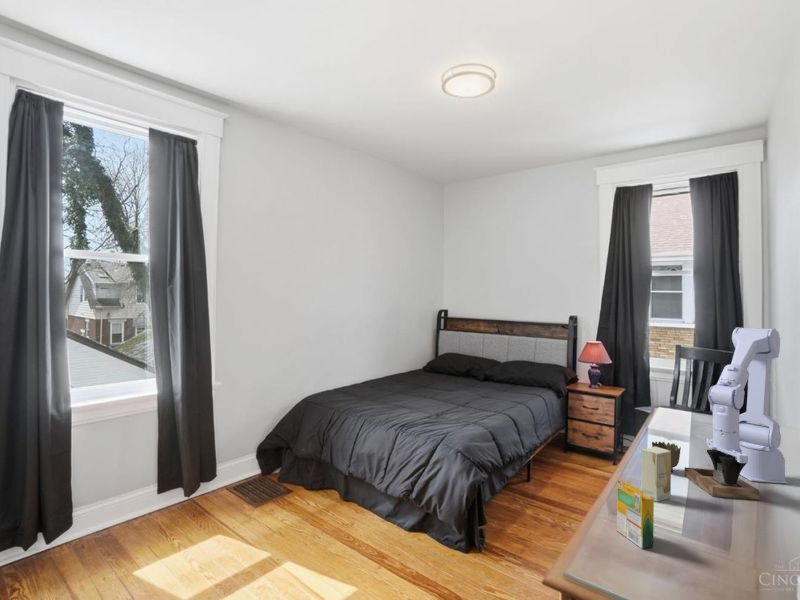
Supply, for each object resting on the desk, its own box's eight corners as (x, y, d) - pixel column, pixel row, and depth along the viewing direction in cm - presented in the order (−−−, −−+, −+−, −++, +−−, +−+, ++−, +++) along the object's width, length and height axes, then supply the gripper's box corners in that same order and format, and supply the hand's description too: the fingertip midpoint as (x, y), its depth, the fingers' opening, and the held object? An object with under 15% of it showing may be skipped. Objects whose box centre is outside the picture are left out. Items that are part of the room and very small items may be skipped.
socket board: (725, 478, 122) (725, 470, 122) (759, 500, 108) (759, 490, 108) (684, 475, 123) (684, 467, 123) (712, 496, 109) (712, 486, 109)
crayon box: (654, 548, 85) (654, 490, 85) (641, 549, 84) (642, 491, 84) (627, 529, 92) (628, 476, 92) (616, 530, 91) (616, 477, 92)
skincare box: (657, 502, 105) (657, 453, 106) (640, 495, 109) (640, 448, 109) (672, 498, 108) (672, 450, 109) (655, 491, 112) (655, 445, 112)
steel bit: (727, 488, 114) (727, 462, 114) (736, 494, 110) (736, 467, 111) (713, 487, 115) (713, 462, 115) (721, 493, 111) (721, 466, 111)
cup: (685, 477, 122) (685, 449, 123) (657, 474, 124) (657, 447, 124) (674, 467, 130) (674, 442, 130) (648, 465, 131) (648, 440, 131)
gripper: (695, 422, 121) (695, 469, 120) (726, 437, 106) (726, 491, 106) (721, 423, 120) (722, 471, 119) (757, 438, 105) (757, 493, 105)
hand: (726, 480), depth 113 cm, fingers closed on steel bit, 4 cm apart
